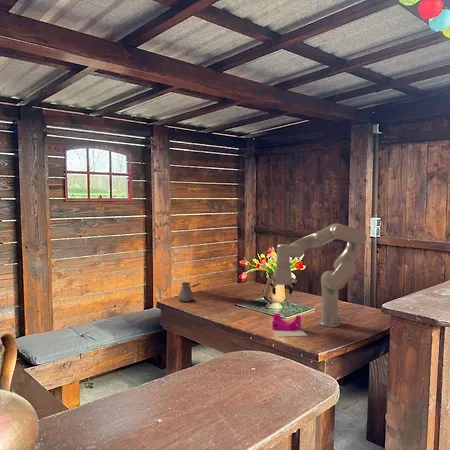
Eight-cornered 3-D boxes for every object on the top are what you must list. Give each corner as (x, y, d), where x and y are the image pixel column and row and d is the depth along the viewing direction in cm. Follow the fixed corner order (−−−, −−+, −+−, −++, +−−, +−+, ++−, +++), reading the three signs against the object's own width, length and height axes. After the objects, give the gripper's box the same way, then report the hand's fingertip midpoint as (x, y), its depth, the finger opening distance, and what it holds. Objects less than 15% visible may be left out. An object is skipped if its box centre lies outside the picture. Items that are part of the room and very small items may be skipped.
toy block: (272, 328, 228) (272, 315, 228) (275, 326, 234) (275, 313, 234) (298, 331, 223) (298, 318, 223) (300, 328, 229) (300, 315, 229)
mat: (302, 330, 226) (302, 329, 226) (307, 336, 217) (307, 335, 217) (274, 331, 224) (274, 331, 224) (278, 337, 215) (278, 336, 215)
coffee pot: (174, 300, 293) (174, 280, 292) (187, 297, 301) (186, 278, 300) (194, 306, 278) (194, 284, 277) (206, 302, 286) (206, 282, 285)
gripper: (295, 264, 239) (294, 292, 240) (267, 264, 237) (266, 292, 238) (299, 266, 231) (298, 295, 233) (270, 266, 229) (269, 295, 230)
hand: (282, 294), depth 235 cm, fingers open, 9 cm apart
